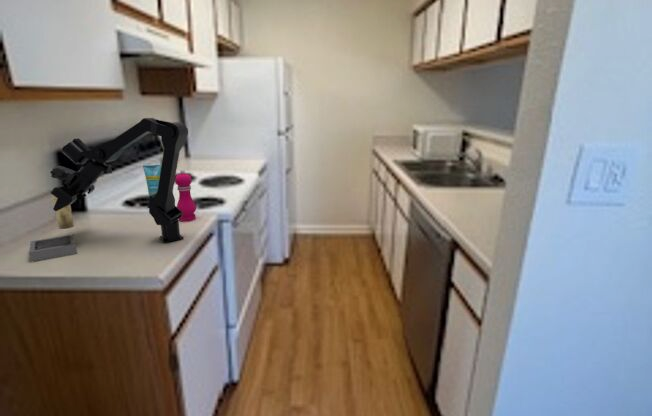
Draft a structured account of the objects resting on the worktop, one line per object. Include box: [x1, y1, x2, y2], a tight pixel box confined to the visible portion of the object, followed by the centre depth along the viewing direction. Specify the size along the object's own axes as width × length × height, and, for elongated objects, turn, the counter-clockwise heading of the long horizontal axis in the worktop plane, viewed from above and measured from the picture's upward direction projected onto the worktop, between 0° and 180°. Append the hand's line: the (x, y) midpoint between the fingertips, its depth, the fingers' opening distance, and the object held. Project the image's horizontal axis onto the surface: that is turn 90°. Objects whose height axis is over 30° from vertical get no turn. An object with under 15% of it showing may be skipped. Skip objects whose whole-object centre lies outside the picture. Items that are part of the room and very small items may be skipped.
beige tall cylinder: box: [50, 188, 75, 230], centre depth 128 cm, size 4×4×13 cm
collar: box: [28, 234, 78, 263], centre depth 119 cm, size 11×11×3 cm
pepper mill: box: [174, 169, 197, 222], centre depth 150 cm, size 7×7×20 cm
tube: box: [142, 164, 162, 198], centre depth 167 cm, size 7×5×19 cm, turn 103°
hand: (58, 208), depth 127 cm, fingers closed on beige tall cylinder, 4 cm apart
